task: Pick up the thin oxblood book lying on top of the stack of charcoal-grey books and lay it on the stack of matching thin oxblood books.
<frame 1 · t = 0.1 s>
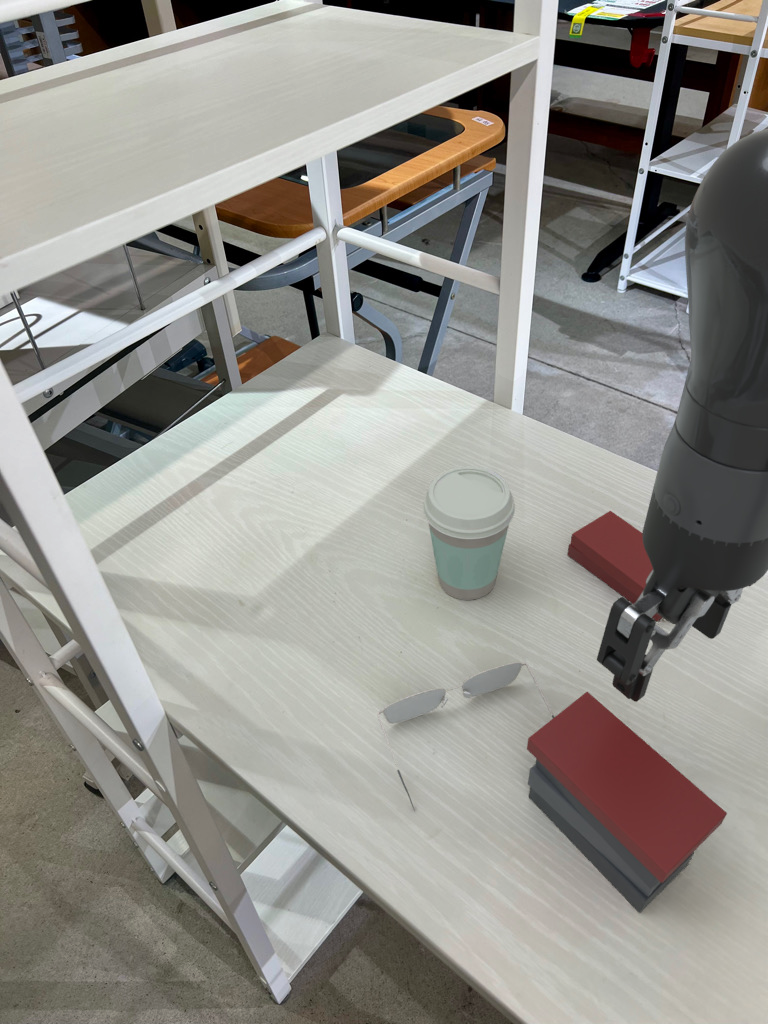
hand: (666, 659, 54), 12 cm above the table, tool pointing down, fingers open, 8 cm apart
oxblood books: (628, 573, 76), on the table
grey books: (604, 829, 57), on the table
eyeglasses: (470, 743, 63), on the table
coffee cup: (466, 579, 77), on the table
thin oxblood book: (619, 784, 52), point 7 cm above the table, touching grey books
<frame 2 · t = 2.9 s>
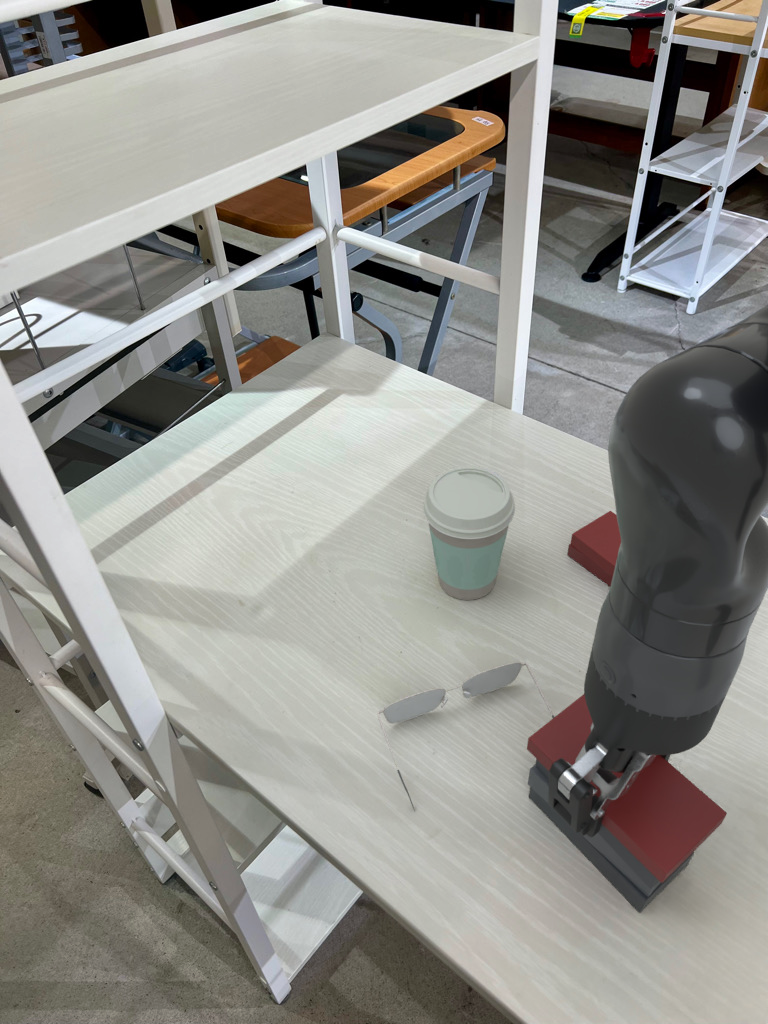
hand: (616, 794, 53), 6 cm above the table, tool pointing down, fingers closed on thin oxblood book, 6 cm apart
thin oxblood book: (619, 784, 52), point 7 cm above the table, touching grey books, gripper
everything else where it was.
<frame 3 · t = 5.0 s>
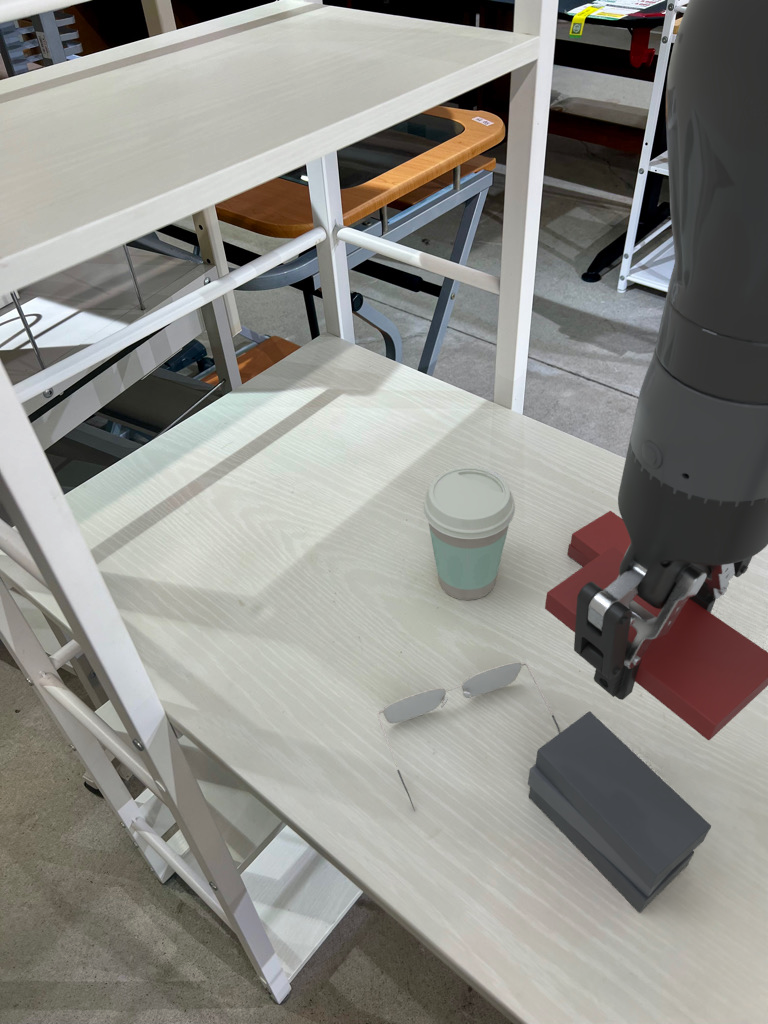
hand: (649, 656, 46), 19 cm above the table, tool pointing down, fingers closed on thin oxblood book, 6 cm apart
thin oxblood book: (653, 642, 45), point 20 cm above the table, touching gripper
everything else where it was.
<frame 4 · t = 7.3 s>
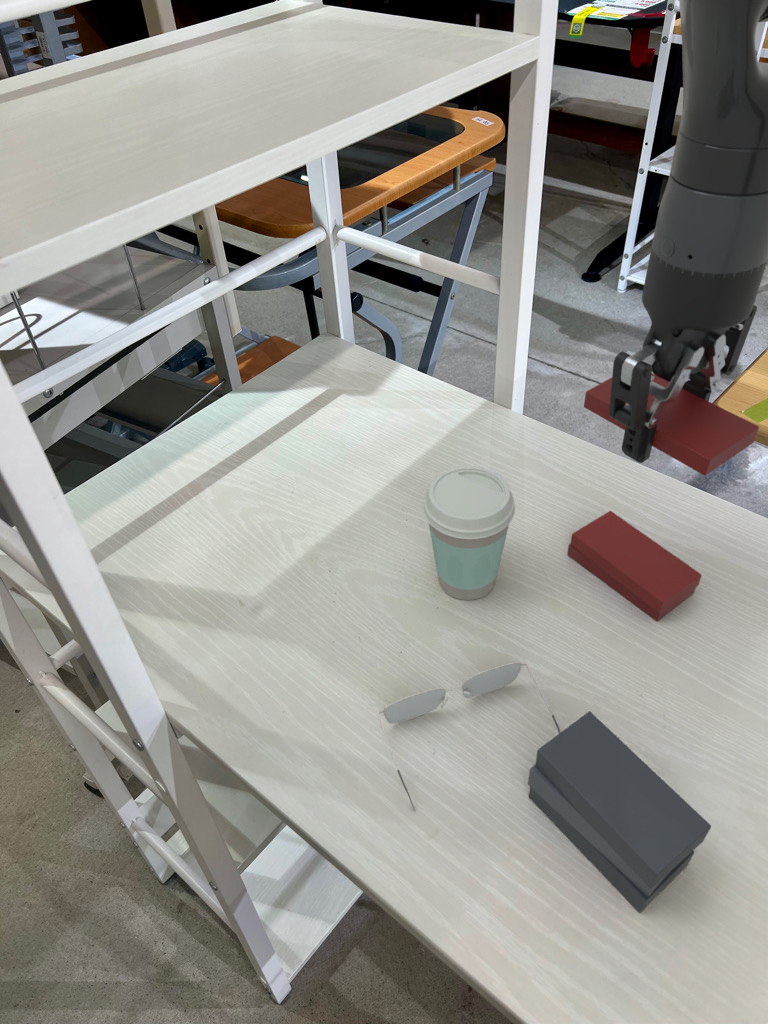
hand: (661, 439, 62), 18 cm above the table, tool pointing down, fingers closed on thin oxblood book, 6 cm apart
thin oxblood book: (665, 424, 61), point 20 cm above the table, touching gripper
everything else where it was.
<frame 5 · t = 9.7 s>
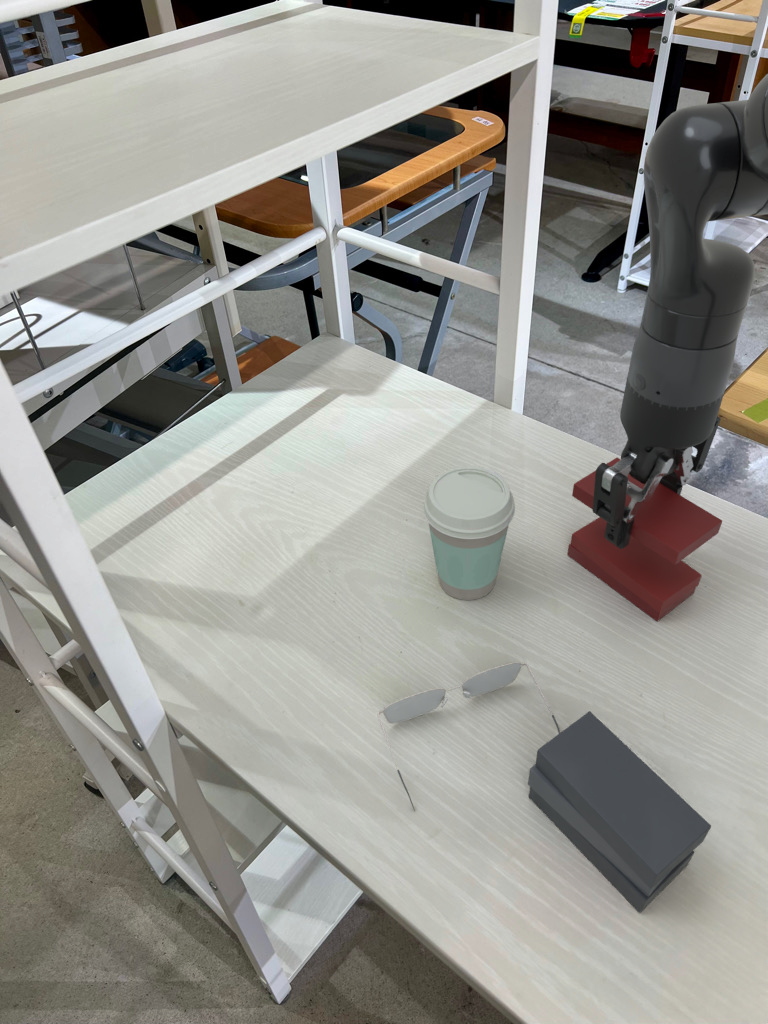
hand: (640, 525, 71), 7 cm above the table, tool pointing down, fingers closed on thin oxblood book, 6 cm apart
thin oxblood book: (642, 514, 70), point 8 cm above the table, touching gripper
everything else where it was.
when the fingers open (2 cm above the table, at t = 11.6 s): thin oxblood book stays where it is, resting on oxblood books.
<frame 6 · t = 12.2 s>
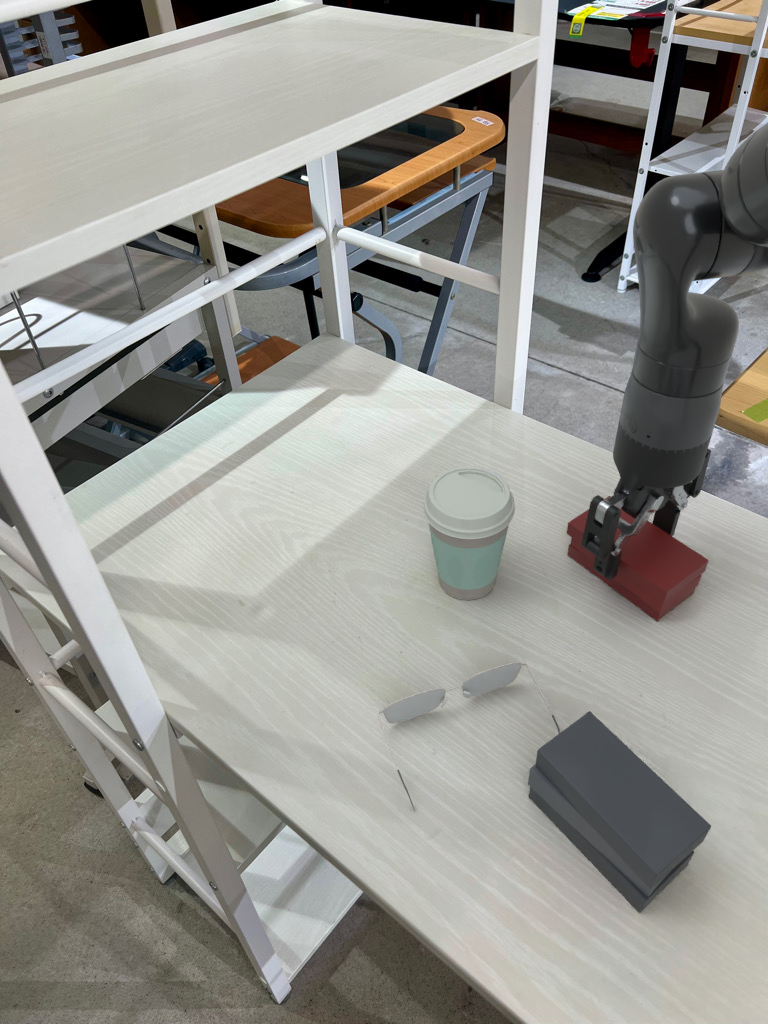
hand: (634, 553, 74), 3 cm above the table, tool pointing down, fingers open, 8 cm apart
thin oxblood book: (633, 551, 74), point 3 cm above the table, touching oxblood books
everything else where it was.
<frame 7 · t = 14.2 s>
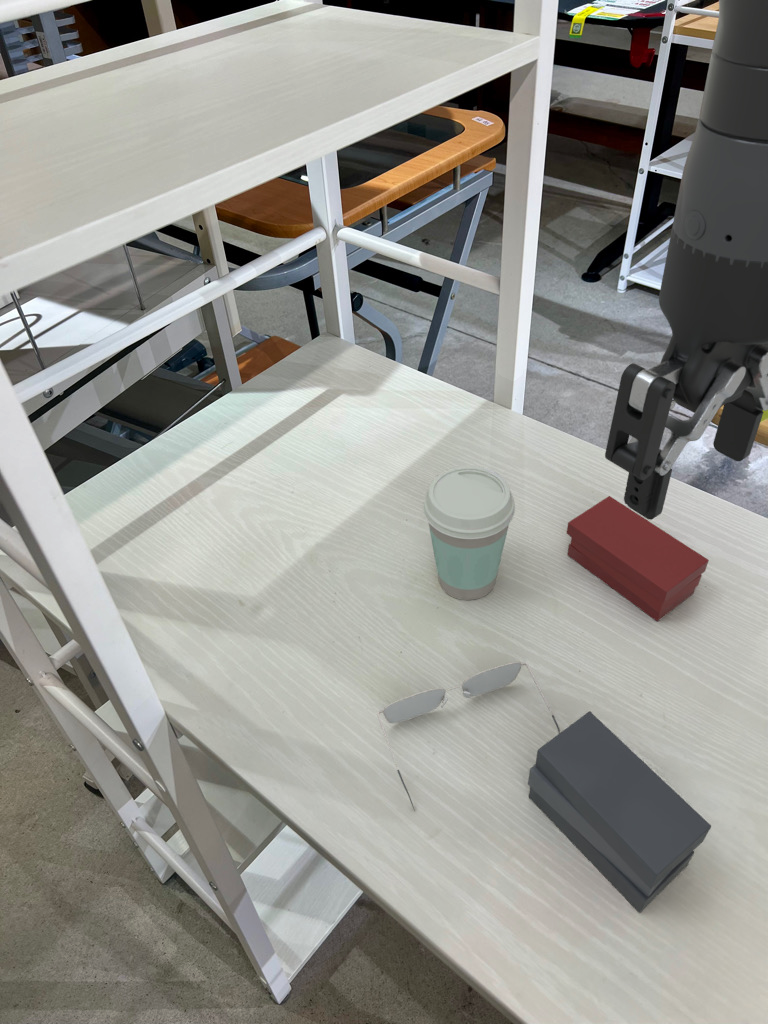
hand: (687, 481, 47), 26 cm above the table, tool pointing down, fingers open, 8 cm apart
nothing on the table moved.
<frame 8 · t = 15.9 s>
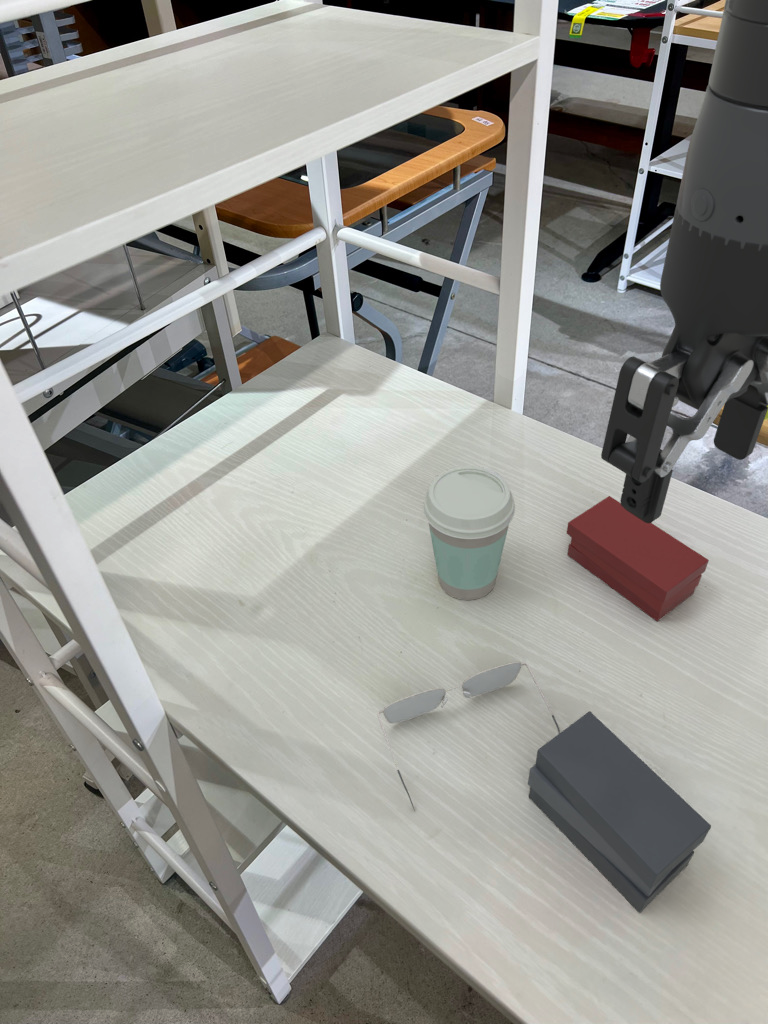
hand: (687, 481, 44), 28 cm above the table, tool pointing down, fingers open, 8 cm apart
nothing on the table moved.
at the end: thin oxblood book 0.0 cm off-centre on the oxblood books, point 3.2 cm above the oxblood books's base; thin oxblood book tilted 0°; the gripper is holding nothing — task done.
